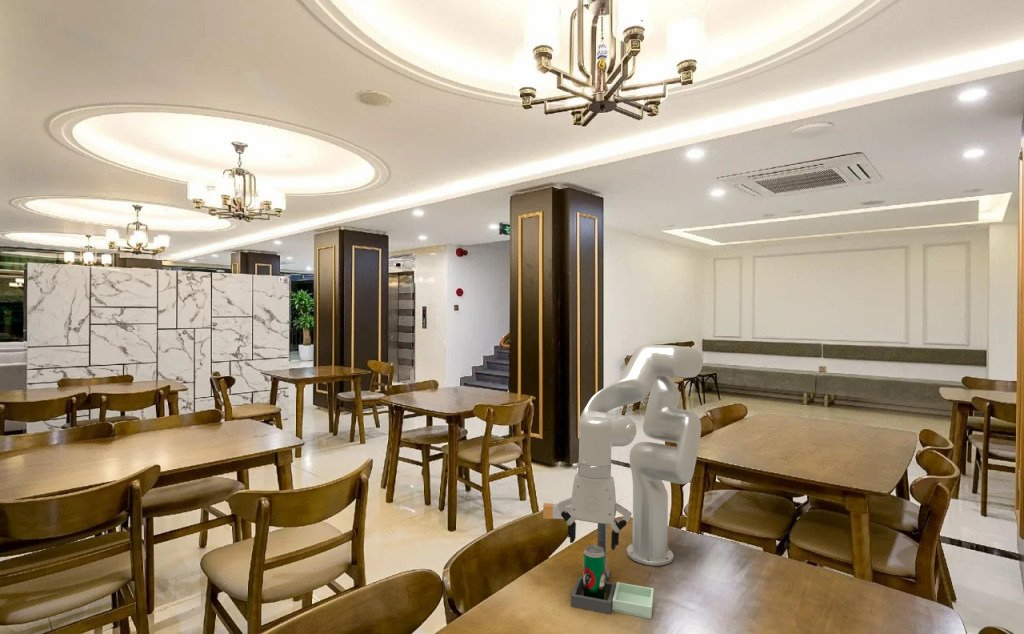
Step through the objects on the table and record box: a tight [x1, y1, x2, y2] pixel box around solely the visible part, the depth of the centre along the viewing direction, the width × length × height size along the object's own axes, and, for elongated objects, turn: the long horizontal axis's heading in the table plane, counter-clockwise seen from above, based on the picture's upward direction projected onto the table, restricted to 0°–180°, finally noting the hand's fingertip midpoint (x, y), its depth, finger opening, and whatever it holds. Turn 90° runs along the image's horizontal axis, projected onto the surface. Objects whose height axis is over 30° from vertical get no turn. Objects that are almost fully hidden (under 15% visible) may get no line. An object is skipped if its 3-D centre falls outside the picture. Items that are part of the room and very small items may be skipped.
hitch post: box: [597, 523, 611, 582], centre depth 127 cm, size 9×4×14 cm, turn 161°
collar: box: [570, 576, 617, 615], centre depth 118 cm, size 9×9×2 cm
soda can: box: [582, 544, 606, 600], centre depth 118 cm, size 5×5×12 cm
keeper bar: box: [542, 502, 571, 520], centre depth 130 cm, size 17×3×3 cm, turn 84°
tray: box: [611, 581, 655, 620], centre depth 116 cm, size 8×8×2 cm
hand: (592, 544), depth 117 cm, fingers open, 9 cm apart
